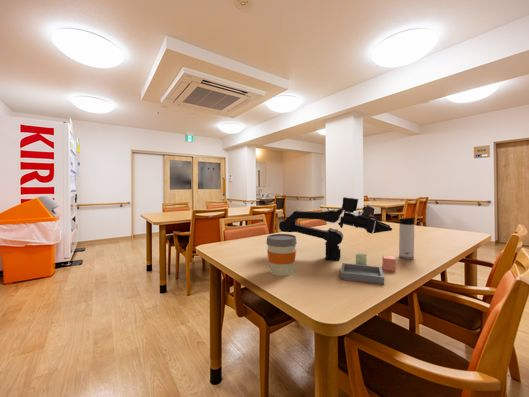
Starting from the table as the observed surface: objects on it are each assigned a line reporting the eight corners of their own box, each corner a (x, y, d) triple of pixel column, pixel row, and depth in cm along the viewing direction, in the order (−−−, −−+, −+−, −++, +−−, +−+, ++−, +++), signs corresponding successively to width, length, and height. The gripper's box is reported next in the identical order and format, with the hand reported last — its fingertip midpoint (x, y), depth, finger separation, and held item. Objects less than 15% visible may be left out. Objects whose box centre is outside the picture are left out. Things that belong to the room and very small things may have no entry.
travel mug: (409, 260, 112) (410, 218, 111) (396, 256, 118) (396, 216, 117) (417, 258, 115) (418, 217, 114) (404, 254, 121) (404, 215, 120)
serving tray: (340, 279, 91) (340, 272, 90) (342, 268, 102) (342, 263, 102) (384, 284, 85) (384, 277, 85) (381, 273, 96) (381, 266, 96)
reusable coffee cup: (262, 269, 102) (261, 235, 102) (287, 265, 107) (287, 232, 107) (274, 279, 91) (274, 241, 90) (302, 274, 96) (302, 238, 95)
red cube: (383, 269, 100) (383, 258, 100) (382, 266, 104) (382, 255, 104) (395, 271, 98) (395, 259, 98) (393, 267, 103) (394, 256, 102)
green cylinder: (355, 266, 104) (355, 255, 104) (355, 263, 108) (355, 253, 108) (366, 268, 103) (366, 256, 102) (366, 264, 107) (366, 253, 106)
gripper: (357, 204, 103) (397, 211, 97) (358, 203, 120) (392, 209, 114) (352, 229, 103) (391, 238, 97) (353, 224, 121) (387, 231, 115)
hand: (390, 228), depth 106 cm, fingers open, 9 cm apart
